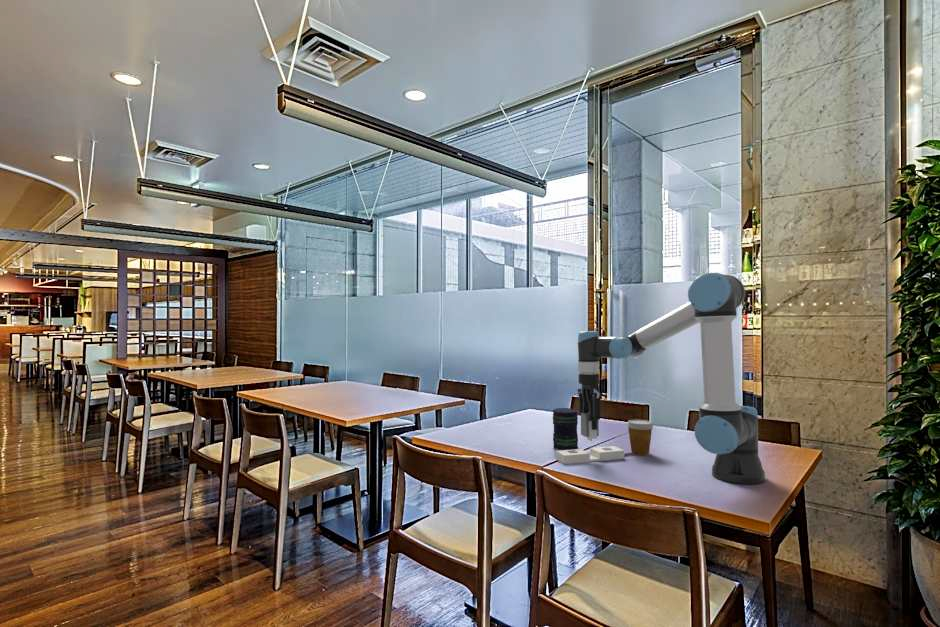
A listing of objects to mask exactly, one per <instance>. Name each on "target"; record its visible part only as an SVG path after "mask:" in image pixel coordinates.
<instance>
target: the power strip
mask: <svg viewBox="0 0 940 627" xmlns="http://www.w3.org/2000/svg"><path fill="white" fill-rule="evenodd" d="M634 455H635V454H634V453H632V452H625V450H624V449H622V448H620V447H617V446H615V445H610V446H601V447H599V446H598V447H590V448H589V452H588V451H585V450H584V449H581V448H578V449H572V450H555V460H557V461H558V462H560V463H562V464H563V465H571V464H581V463H590V462H591V463H592V462H601V461H602V462H604V461H611V460H612V461H615V460H623V459H625V456H634Z"/></svg>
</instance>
